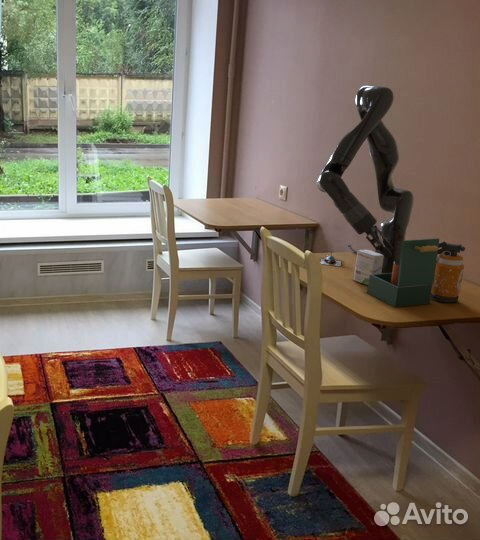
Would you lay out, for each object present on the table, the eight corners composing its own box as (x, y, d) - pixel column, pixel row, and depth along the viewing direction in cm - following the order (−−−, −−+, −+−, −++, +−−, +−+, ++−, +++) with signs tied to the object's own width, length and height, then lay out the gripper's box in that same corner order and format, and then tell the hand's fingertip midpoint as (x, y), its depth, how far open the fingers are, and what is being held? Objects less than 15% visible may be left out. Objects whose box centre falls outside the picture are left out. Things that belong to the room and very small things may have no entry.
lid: (402, 240, 195) (413, 243, 191) (437, 238, 199) (449, 241, 194) (397, 286, 199) (408, 290, 195) (431, 283, 203) (443, 287, 198)
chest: (367, 292, 215) (369, 274, 213) (399, 289, 218) (402, 271, 216) (395, 307, 201) (398, 287, 199) (429, 303, 205) (432, 284, 203)
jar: (385, 293, 212) (390, 260, 208) (396, 292, 213) (401, 259, 209) (394, 297, 208) (399, 264, 204) (405, 296, 209) (410, 263, 205)
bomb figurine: (320, 263, 248) (321, 251, 246) (320, 259, 254) (322, 246, 253) (340, 266, 245) (342, 253, 243) (341, 261, 252) (342, 248, 250)
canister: (456, 305, 203) (467, 248, 197) (420, 299, 209) (429, 243, 203) (458, 297, 210) (469, 242, 204) (423, 292, 216) (432, 237, 210)
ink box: (380, 285, 223) (384, 254, 219) (370, 286, 221) (374, 256, 217) (362, 278, 230) (366, 248, 226) (352, 280, 228) (356, 250, 224)
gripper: (366, 215, 201) (399, 252, 199) (370, 207, 213) (400, 242, 212) (347, 228, 205) (379, 265, 203) (352, 220, 217) (382, 255, 215)
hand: (390, 253), depth 207 cm, fingers open, 8 cm apart
